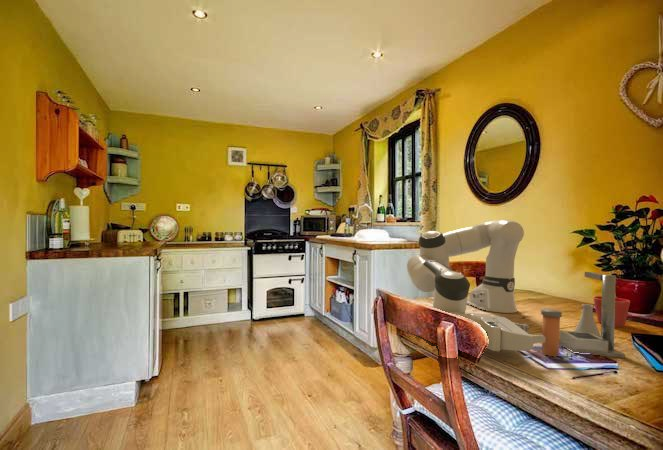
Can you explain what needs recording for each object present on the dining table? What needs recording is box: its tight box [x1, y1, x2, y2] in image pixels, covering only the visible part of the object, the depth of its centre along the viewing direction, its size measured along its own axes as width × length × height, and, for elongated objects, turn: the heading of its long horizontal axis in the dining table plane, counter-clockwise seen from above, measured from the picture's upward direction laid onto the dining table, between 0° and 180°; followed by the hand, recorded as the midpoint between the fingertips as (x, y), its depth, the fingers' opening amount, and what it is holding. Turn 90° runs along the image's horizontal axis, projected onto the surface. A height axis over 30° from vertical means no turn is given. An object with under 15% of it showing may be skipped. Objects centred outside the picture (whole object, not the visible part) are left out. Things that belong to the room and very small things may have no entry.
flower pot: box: [593, 295, 631, 328], centre depth 129 cm, size 11×11×10 cm
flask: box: [573, 303, 601, 338], centre depth 115 cm, size 7×7×10 cm
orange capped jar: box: [540, 308, 563, 357], centre depth 95 cm, size 5×5×12 cm
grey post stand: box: [559, 271, 626, 359], centre depth 102 cm, size 13×15×22 cm
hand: (535, 333), depth 95 cm, fingers open, 8 cm apart
